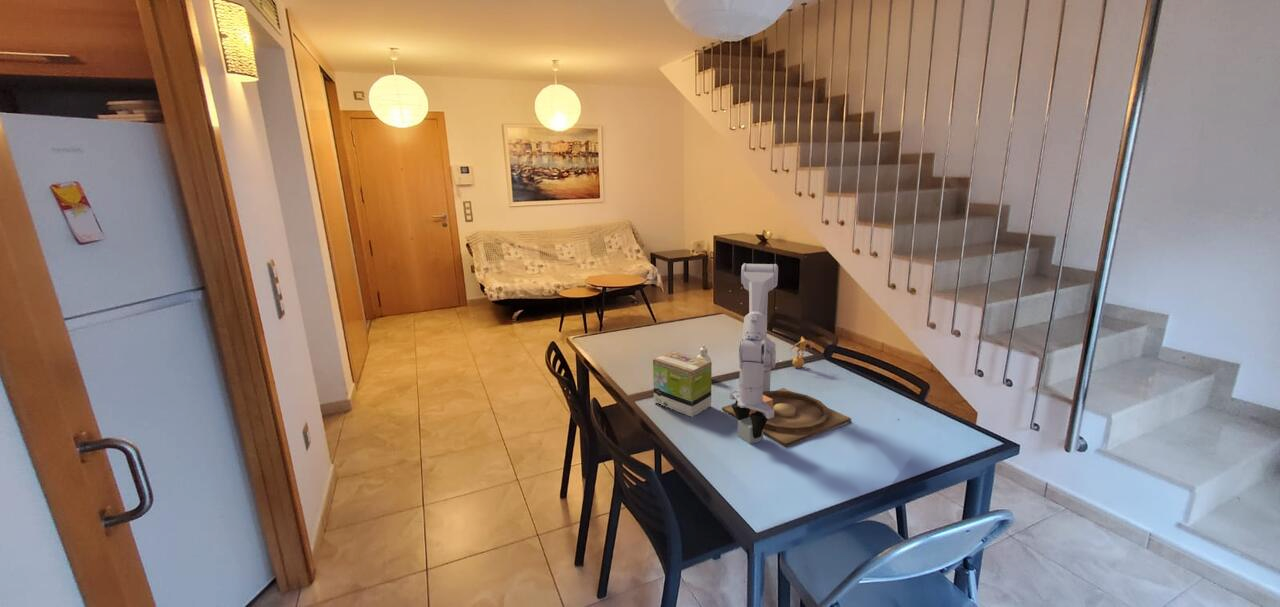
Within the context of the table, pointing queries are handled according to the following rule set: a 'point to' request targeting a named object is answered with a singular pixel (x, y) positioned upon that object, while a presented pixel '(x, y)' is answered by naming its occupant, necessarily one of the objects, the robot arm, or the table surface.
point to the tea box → (682, 382)
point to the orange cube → (766, 400)
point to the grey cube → (747, 431)
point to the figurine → (799, 361)
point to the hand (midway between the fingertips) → (750, 432)
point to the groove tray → (796, 417)
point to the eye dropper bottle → (703, 354)
